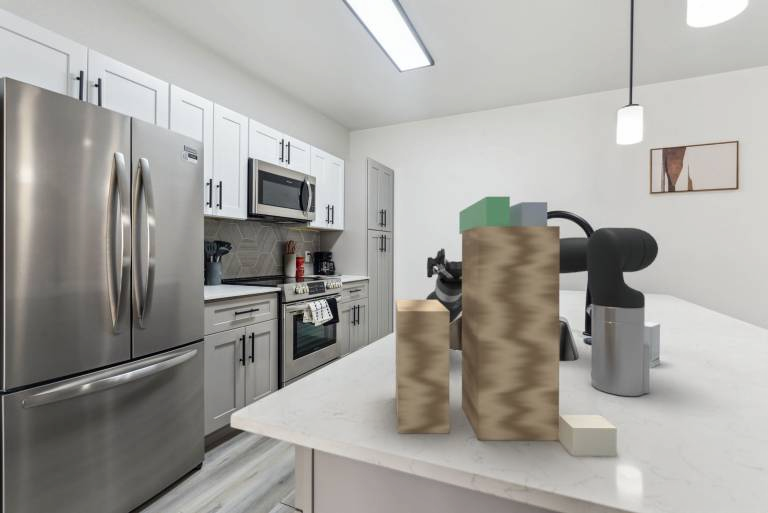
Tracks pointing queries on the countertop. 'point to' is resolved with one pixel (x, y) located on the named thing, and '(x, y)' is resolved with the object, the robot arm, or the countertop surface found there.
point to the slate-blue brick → (529, 214)
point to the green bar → (485, 213)
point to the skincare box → (653, 342)
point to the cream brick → (587, 435)
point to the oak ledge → (422, 366)
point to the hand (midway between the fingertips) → (462, 252)
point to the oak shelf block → (511, 331)
